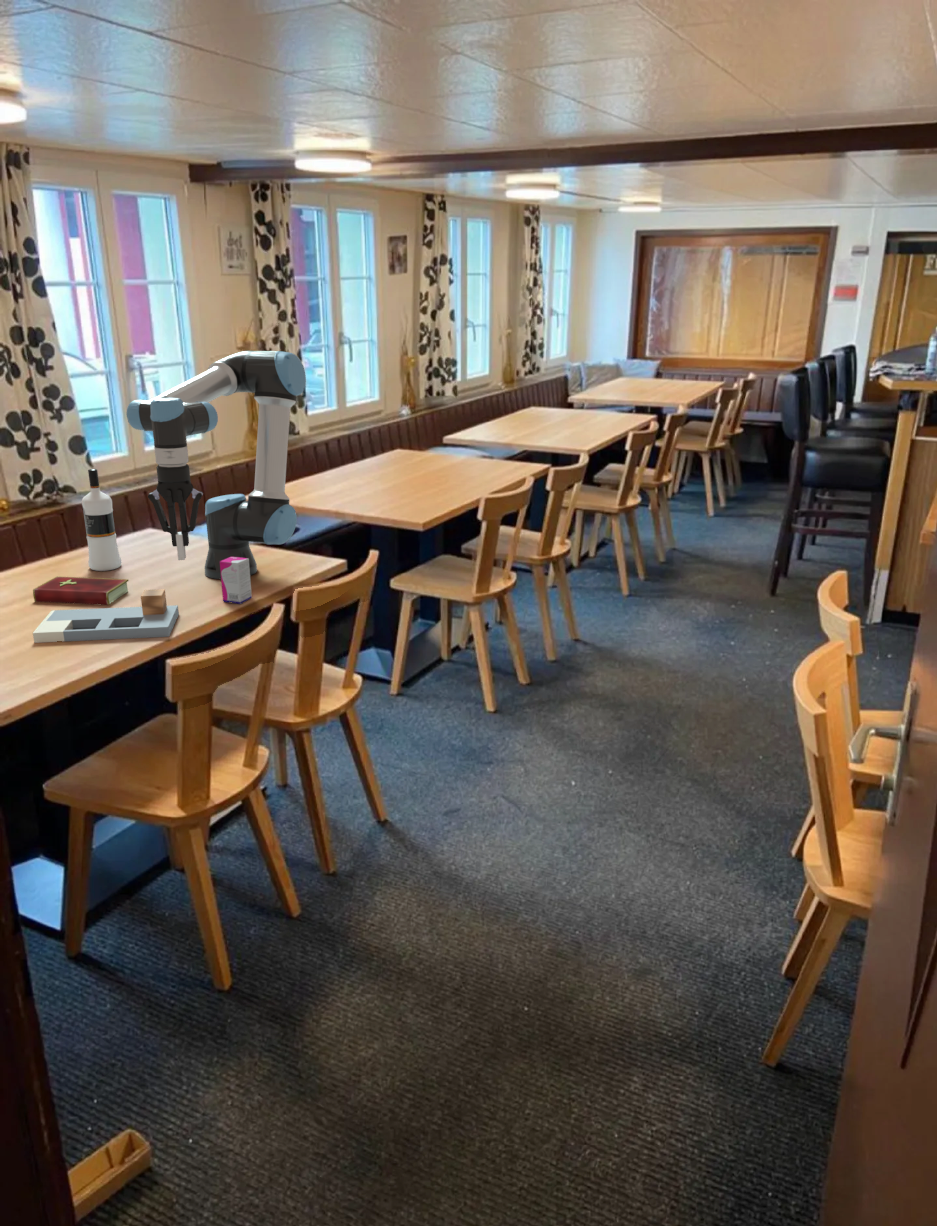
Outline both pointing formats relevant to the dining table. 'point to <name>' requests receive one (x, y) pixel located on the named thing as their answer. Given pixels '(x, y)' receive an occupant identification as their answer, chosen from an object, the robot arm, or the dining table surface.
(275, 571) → the dining table surface
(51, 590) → the hardcover book
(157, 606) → the block
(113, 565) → the vodka
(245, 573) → the supplement box
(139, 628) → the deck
